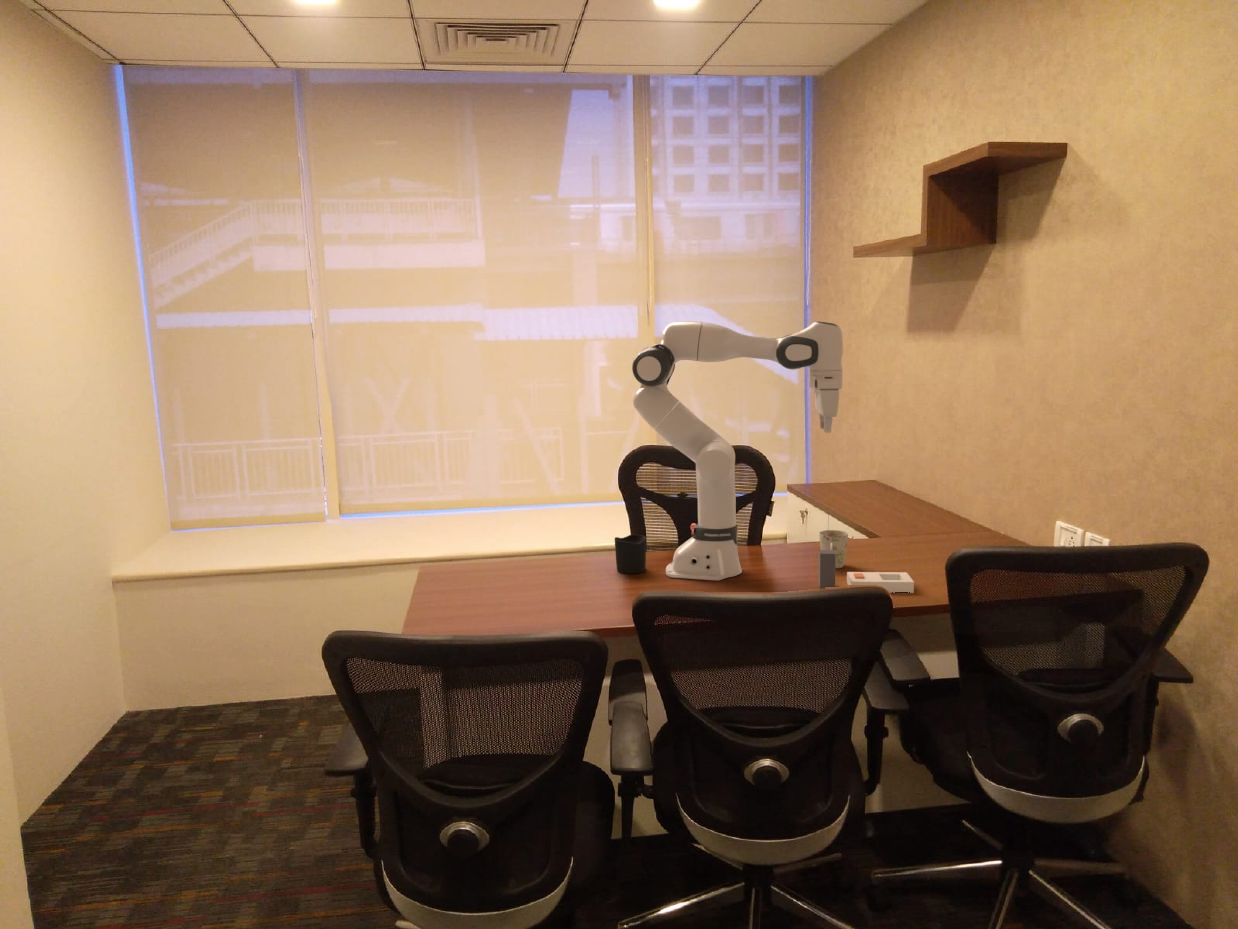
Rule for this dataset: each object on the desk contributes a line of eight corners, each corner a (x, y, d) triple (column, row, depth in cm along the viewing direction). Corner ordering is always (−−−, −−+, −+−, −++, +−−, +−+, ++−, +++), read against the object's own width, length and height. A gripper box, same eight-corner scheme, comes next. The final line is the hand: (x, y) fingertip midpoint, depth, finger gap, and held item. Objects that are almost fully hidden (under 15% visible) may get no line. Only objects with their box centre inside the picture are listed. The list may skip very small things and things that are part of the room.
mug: (847, 562, 244) (848, 530, 242) (847, 574, 232) (848, 540, 230) (819, 561, 246) (819, 529, 244) (818, 573, 234) (818, 539, 232)
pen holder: (643, 575, 238) (642, 542, 236) (612, 574, 240) (611, 541, 238) (649, 566, 247) (648, 534, 245) (619, 565, 249) (618, 534, 247)
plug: (820, 589, 219) (820, 553, 218) (818, 584, 223) (818, 549, 222) (835, 589, 219) (835, 553, 217) (833, 585, 223) (833, 550, 221)
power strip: (851, 592, 216) (851, 579, 215) (846, 582, 224) (847, 570, 224) (913, 593, 213) (914, 580, 213) (906, 582, 222) (906, 570, 222)
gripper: (810, 379, 233) (810, 426, 236) (818, 383, 213) (817, 434, 216) (832, 378, 233) (832, 426, 235) (842, 382, 213) (842, 434, 215)
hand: (825, 430), depth 225 cm, fingers open, 8 cm apart
